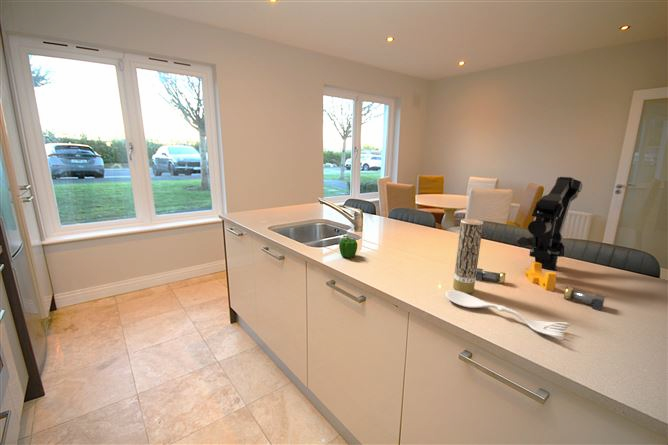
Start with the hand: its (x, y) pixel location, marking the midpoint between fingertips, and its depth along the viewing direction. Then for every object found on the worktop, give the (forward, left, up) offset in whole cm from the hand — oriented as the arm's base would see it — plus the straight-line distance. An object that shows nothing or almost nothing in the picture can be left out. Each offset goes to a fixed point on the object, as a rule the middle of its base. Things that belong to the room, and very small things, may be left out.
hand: (537, 269), depth 117 cm
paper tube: (+33, -19, -3) cm, 38 cm away
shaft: (+18, +14, -3) cm, 23 cm away
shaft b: (+18, -14, -3) cm, 23 cm away
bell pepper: (+30, -71, -3) cm, 77 cm away
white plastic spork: (+44, -6, -3) cm, 45 cm away
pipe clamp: (+9, +1, -3) cm, 9 cm away
